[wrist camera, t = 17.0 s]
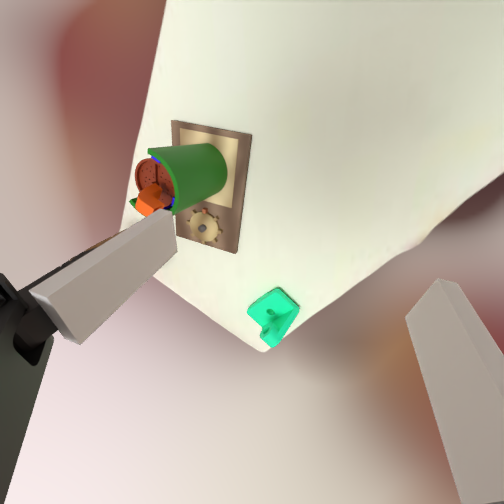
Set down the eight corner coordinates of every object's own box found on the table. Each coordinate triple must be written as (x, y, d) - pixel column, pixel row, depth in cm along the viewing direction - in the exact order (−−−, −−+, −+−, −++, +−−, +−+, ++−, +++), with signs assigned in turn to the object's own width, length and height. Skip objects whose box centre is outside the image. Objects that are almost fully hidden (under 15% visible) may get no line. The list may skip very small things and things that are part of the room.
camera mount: (278, 284, 54) (267, 313, 45) (300, 305, 54) (293, 337, 46) (248, 305, 60) (234, 334, 52) (268, 323, 61) (257, 354, 52)
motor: (193, 135, 41) (98, 139, 25) (234, 156, 41) (165, 175, 24) (183, 184, 47) (100, 214, 31) (219, 203, 46) (154, 245, 30)
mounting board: (252, 135, 39) (246, 135, 37) (237, 251, 53) (232, 258, 50) (174, 120, 43) (164, 119, 40) (179, 233, 56) (171, 238, 53)
